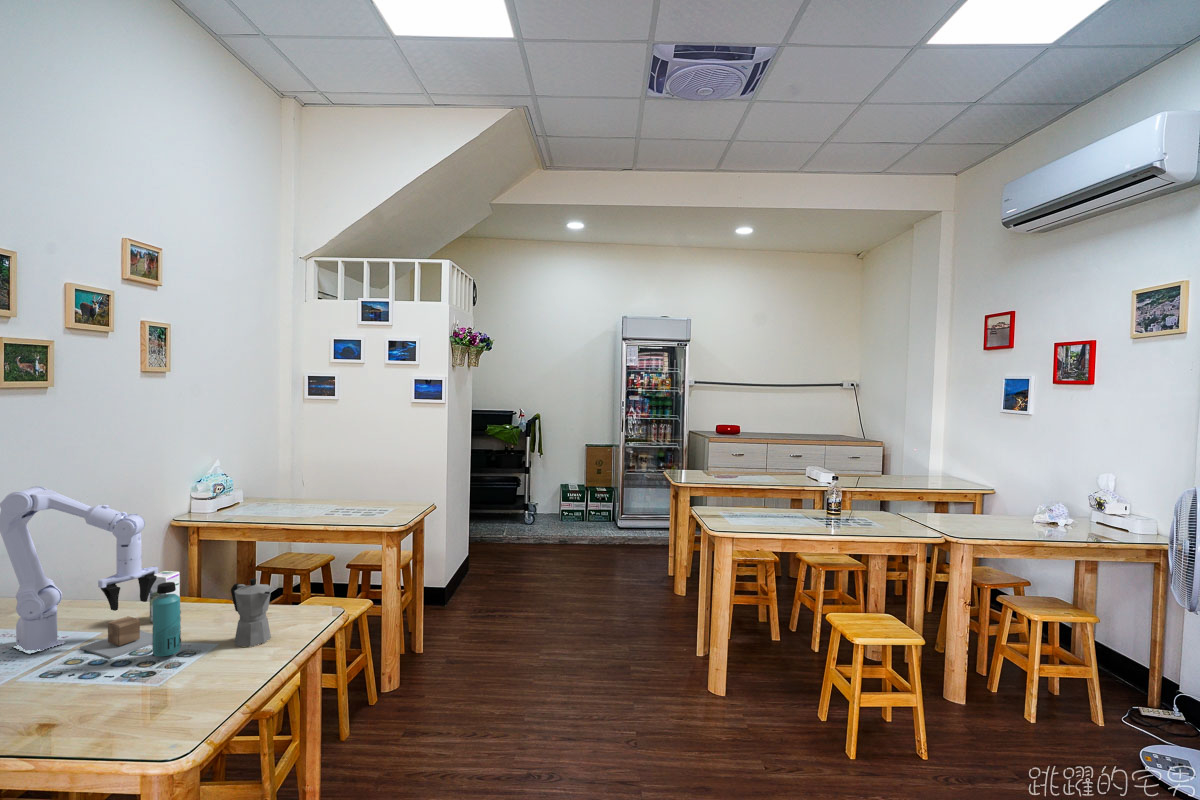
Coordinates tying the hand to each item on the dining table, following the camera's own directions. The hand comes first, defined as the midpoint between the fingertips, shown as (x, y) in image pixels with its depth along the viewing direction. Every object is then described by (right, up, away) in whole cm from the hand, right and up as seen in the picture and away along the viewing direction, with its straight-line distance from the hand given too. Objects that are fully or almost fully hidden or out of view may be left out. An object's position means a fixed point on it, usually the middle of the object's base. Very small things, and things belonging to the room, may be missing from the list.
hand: (129, 605), depth 177 cm
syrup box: (-1, -10, +15) cm, 18 cm away
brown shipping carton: (+1, -9, -3) cm, 9 cm away
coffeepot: (+34, -11, +2) cm, 35 cm away
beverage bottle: (+18, -11, -10) cm, 23 cm away
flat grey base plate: (0, -10, -2) cm, 10 cm away
